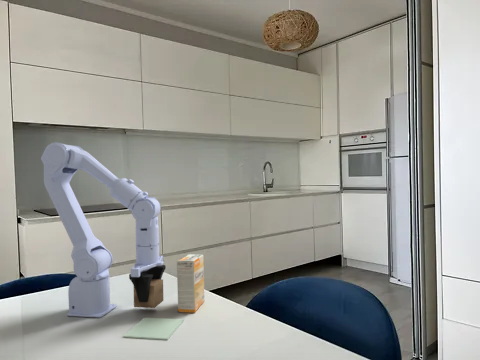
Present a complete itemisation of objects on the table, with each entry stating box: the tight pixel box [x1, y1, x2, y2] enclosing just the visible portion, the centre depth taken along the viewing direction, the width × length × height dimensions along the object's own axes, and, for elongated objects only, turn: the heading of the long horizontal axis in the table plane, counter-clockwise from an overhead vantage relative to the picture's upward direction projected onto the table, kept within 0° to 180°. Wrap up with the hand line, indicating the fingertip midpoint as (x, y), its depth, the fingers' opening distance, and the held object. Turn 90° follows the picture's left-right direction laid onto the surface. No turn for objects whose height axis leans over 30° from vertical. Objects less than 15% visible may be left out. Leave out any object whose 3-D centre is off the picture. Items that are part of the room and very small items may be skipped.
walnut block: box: [133, 278, 164, 309], centre depth 91 cm, size 6×6×6 cm
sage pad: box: [123, 317, 185, 341], centre depth 80 cm, size 10×10×1 cm
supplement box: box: [176, 253, 205, 314], centre depth 93 cm, size 8×5×13 cm, turn 168°
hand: (148, 297), depth 91 cm, fingers closed on walnut block, 5 cm apart
